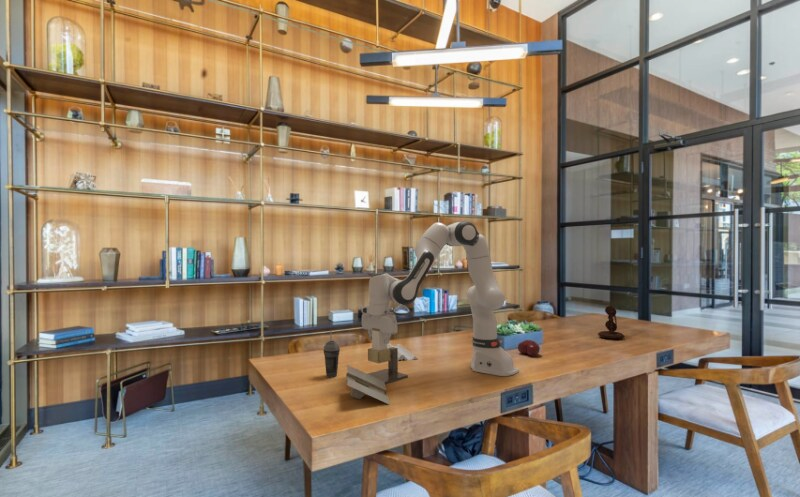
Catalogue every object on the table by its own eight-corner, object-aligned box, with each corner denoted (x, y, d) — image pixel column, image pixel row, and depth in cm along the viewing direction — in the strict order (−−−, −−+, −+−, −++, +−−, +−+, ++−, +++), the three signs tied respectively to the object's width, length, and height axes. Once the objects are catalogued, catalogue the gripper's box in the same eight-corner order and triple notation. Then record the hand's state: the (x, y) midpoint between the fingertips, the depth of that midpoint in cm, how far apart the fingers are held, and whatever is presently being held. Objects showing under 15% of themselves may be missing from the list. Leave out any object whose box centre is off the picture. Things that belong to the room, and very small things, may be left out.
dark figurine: (626, 341, 244) (625, 308, 244) (599, 339, 249) (599, 307, 250) (622, 336, 258) (621, 305, 258) (596, 335, 263) (596, 304, 263)
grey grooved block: (368, 398, 162) (337, 374, 158) (385, 380, 162) (353, 355, 158) (372, 425, 143) (336, 398, 140) (390, 405, 143) (355, 377, 140)
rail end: (387, 358, 173) (386, 328, 173) (378, 360, 170) (378, 329, 170) (380, 356, 176) (379, 326, 176) (372, 358, 173) (371, 328, 173)
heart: (528, 349, 221) (515, 354, 216) (527, 336, 220) (514, 340, 215) (546, 354, 211) (533, 360, 206) (545, 340, 210) (532, 345, 205)
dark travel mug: (326, 379, 172) (326, 333, 173) (321, 375, 179) (321, 330, 179) (342, 377, 176) (342, 331, 176) (336, 372, 182) (336, 329, 183)
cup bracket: (407, 377, 175) (407, 347, 175) (380, 385, 164) (380, 354, 164) (386, 370, 185) (386, 342, 185) (359, 378, 174) (359, 348, 174)
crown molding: (417, 360, 205) (417, 353, 205) (395, 362, 202) (394, 355, 202) (400, 347, 235) (400, 340, 235) (380, 348, 232) (380, 342, 232)
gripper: (400, 311, 168) (401, 344, 168) (370, 307, 183) (370, 337, 183) (389, 313, 164) (389, 346, 163) (359, 308, 178) (359, 339, 178)
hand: (379, 341), depth 173 cm, fingers open, 8 cm apart
